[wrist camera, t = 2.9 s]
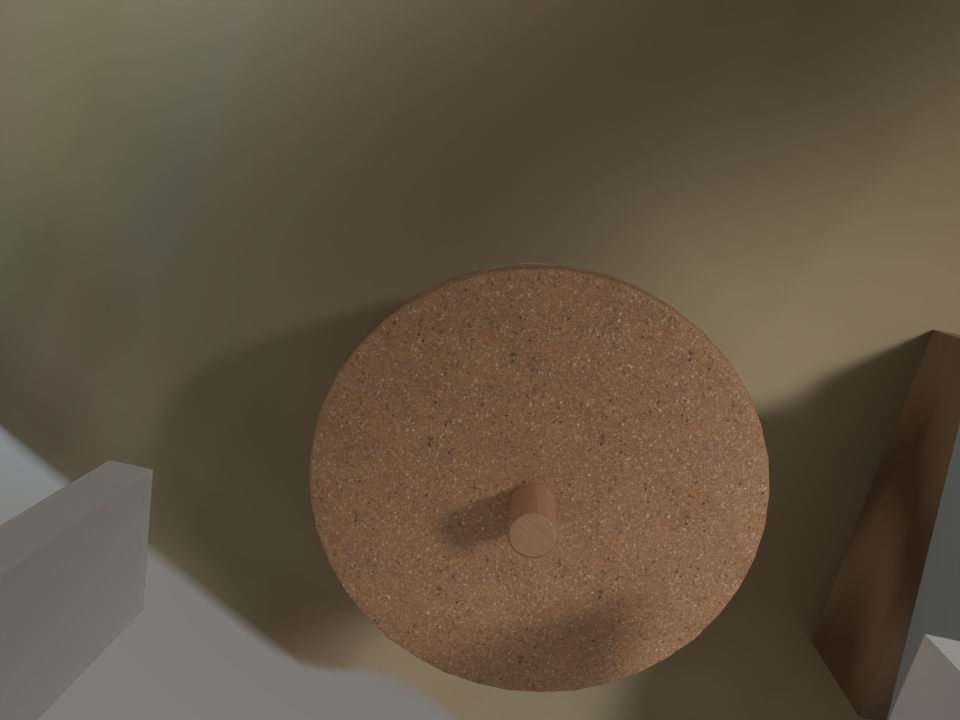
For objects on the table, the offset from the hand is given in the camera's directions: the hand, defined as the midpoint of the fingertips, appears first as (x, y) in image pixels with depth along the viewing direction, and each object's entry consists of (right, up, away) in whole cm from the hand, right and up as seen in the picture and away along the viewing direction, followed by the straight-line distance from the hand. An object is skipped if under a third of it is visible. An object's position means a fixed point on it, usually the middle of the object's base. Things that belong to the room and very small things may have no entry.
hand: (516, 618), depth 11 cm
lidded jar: (+1, +3, +12) cm, 12 cm away
